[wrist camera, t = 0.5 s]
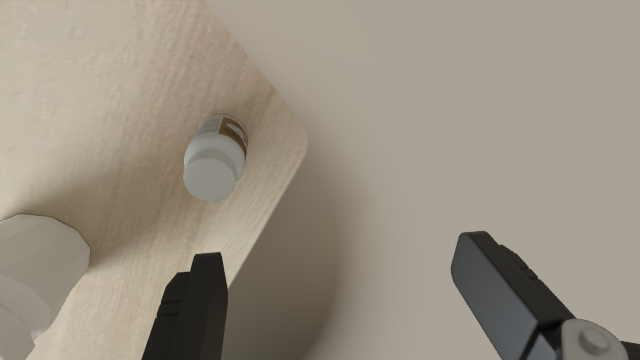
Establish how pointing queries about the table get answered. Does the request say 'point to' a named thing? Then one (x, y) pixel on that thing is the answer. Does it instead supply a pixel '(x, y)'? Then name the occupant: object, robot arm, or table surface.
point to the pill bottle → (215, 158)
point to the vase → (35, 278)
